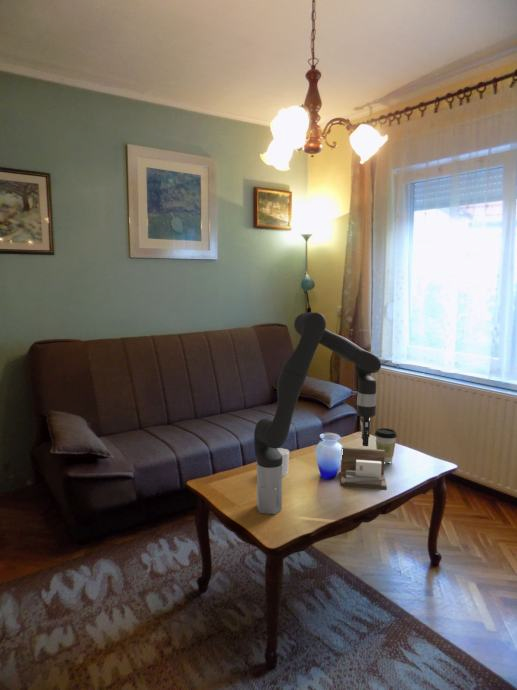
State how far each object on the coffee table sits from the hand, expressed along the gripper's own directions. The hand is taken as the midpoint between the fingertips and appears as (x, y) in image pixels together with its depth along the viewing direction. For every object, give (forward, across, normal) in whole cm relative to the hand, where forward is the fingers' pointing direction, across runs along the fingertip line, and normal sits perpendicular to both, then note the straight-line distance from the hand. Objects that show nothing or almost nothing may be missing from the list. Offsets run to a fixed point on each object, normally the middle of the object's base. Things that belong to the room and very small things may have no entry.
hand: (364, 442), depth 182 cm
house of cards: (+18, +42, +18) cm, 49 cm away
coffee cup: (+17, +25, -11) cm, 33 cm away
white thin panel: (+16, +1, -2) cm, 16 cm away
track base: (+17, +3, 0) cm, 18 cm away
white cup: (+18, +3, +35) cm, 39 cm away
